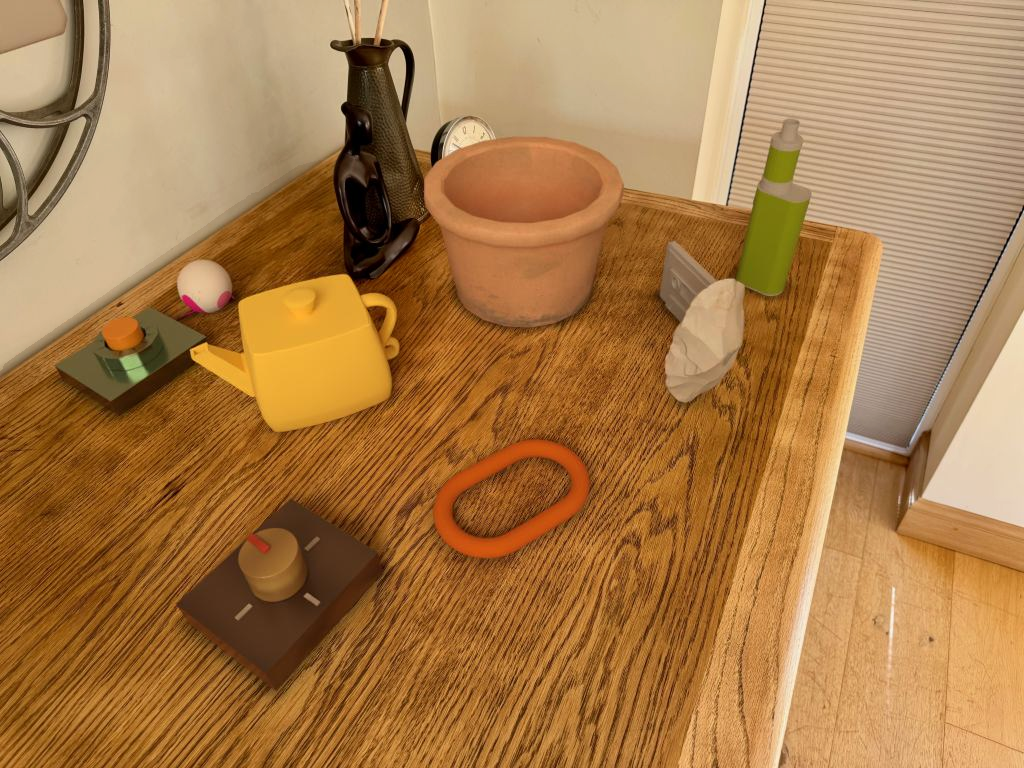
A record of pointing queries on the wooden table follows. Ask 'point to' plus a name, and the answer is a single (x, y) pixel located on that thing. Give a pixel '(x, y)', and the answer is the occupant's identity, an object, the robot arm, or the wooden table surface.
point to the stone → (706, 340)
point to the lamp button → (122, 333)
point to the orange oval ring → (529, 528)
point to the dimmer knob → (273, 564)
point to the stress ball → (204, 286)
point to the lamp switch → (132, 362)
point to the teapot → (309, 352)
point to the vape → (775, 216)
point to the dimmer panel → (296, 620)
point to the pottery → (523, 225)
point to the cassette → (681, 280)
